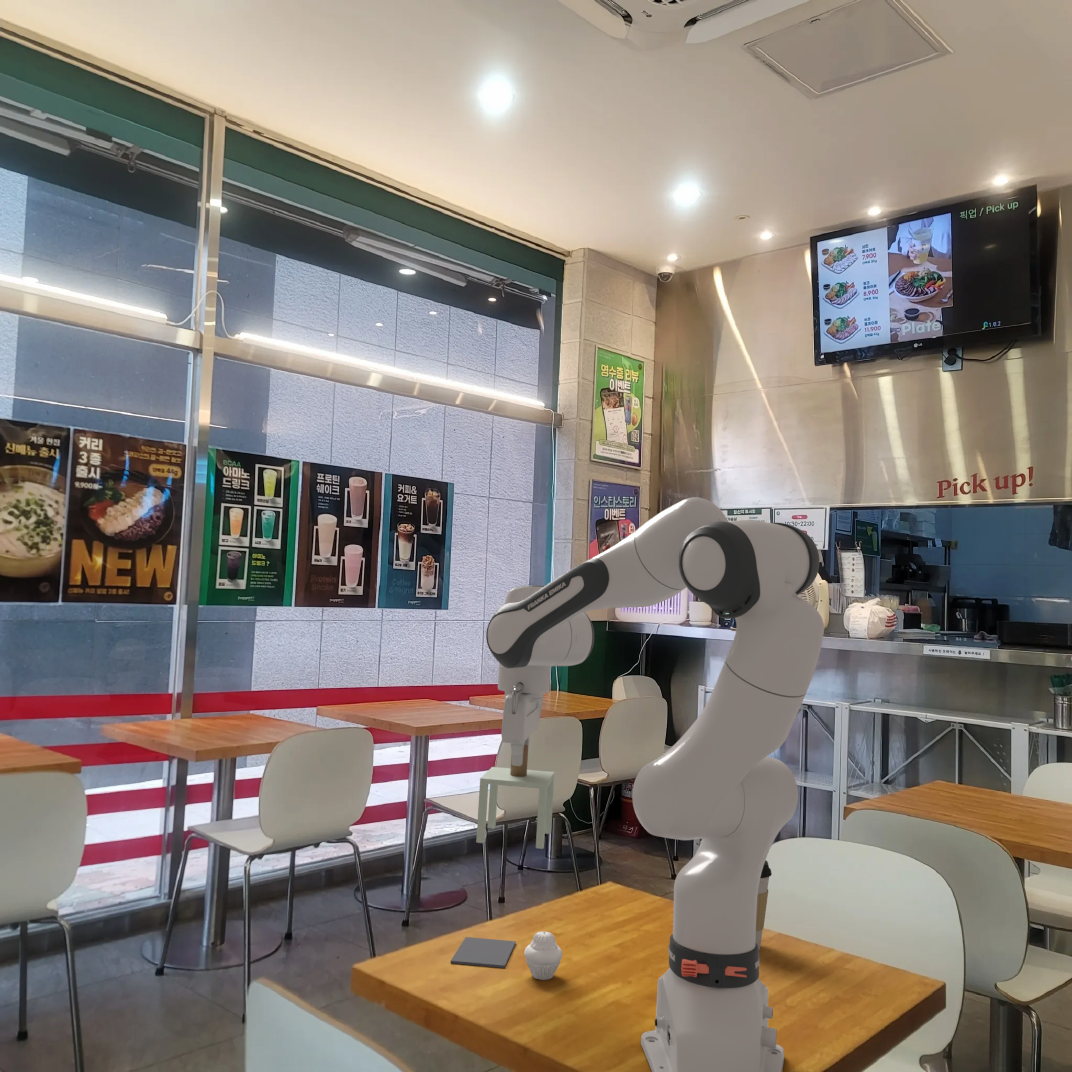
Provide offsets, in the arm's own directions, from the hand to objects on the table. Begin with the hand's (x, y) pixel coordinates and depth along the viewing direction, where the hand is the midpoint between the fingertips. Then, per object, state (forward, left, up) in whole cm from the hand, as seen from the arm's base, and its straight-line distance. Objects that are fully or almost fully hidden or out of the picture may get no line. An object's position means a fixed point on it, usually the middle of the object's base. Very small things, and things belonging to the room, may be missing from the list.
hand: (519, 763), depth 155 cm
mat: (+4, +5, -33) cm, 33 cm away
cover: (0, 0, -12) cm, 12 cm away
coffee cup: (+19, -39, -33) cm, 55 cm away
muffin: (-4, -6, -33) cm, 34 cm away
